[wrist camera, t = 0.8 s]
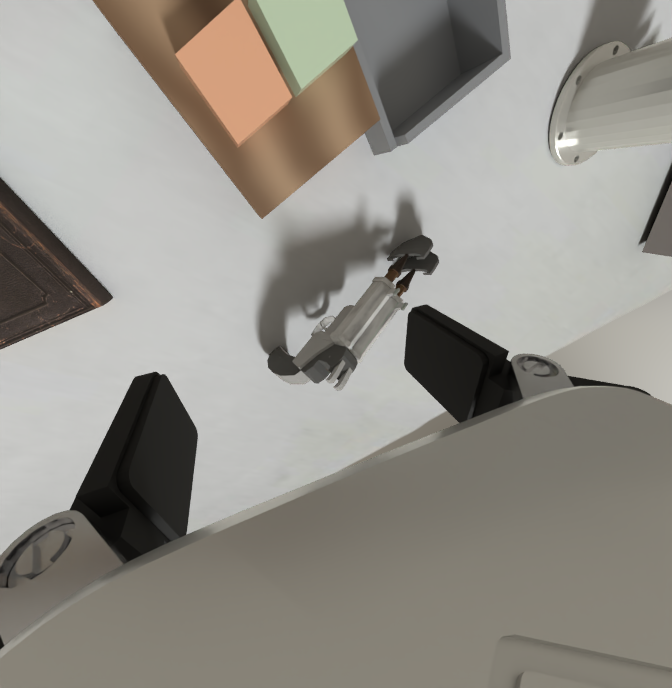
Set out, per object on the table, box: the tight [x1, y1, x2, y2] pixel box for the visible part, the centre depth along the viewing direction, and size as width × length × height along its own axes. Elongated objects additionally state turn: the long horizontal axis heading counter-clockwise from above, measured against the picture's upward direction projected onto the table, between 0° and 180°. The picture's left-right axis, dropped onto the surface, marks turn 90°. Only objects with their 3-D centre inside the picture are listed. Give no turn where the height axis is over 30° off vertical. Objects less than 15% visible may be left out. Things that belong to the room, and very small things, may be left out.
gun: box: [268, 235, 439, 391], centre depth 36 cm, size 5×27×15 cm, turn 124°
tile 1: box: [248, 0, 358, 97], centre depth 19 cm, size 6×6×2 cm
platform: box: [93, 0, 380, 219], centre depth 22 cm, size 15×16×5 cm
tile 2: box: [175, 0, 292, 148], centre depth 19 cm, size 6×6×2 cm
